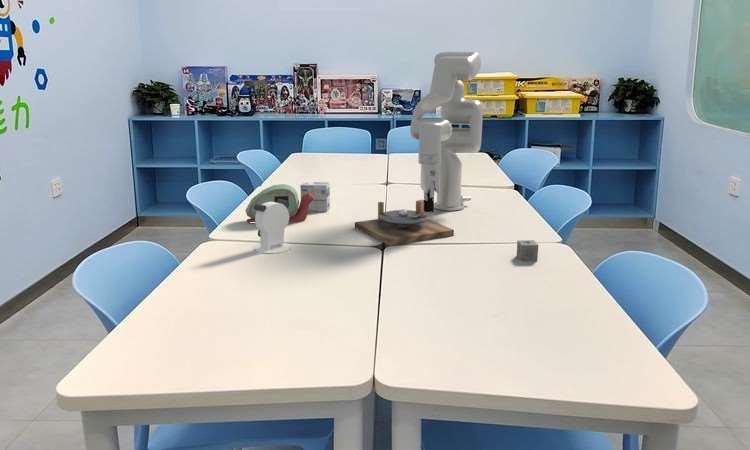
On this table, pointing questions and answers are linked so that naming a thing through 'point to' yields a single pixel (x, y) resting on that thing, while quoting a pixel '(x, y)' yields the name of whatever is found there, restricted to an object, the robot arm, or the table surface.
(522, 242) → the dice cube
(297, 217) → the toy snail
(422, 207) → the flange plate
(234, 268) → the table surface
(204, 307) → the table surface
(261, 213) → the white mount stand
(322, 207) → the light bulb box
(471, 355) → the table surface
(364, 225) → the pivot base
